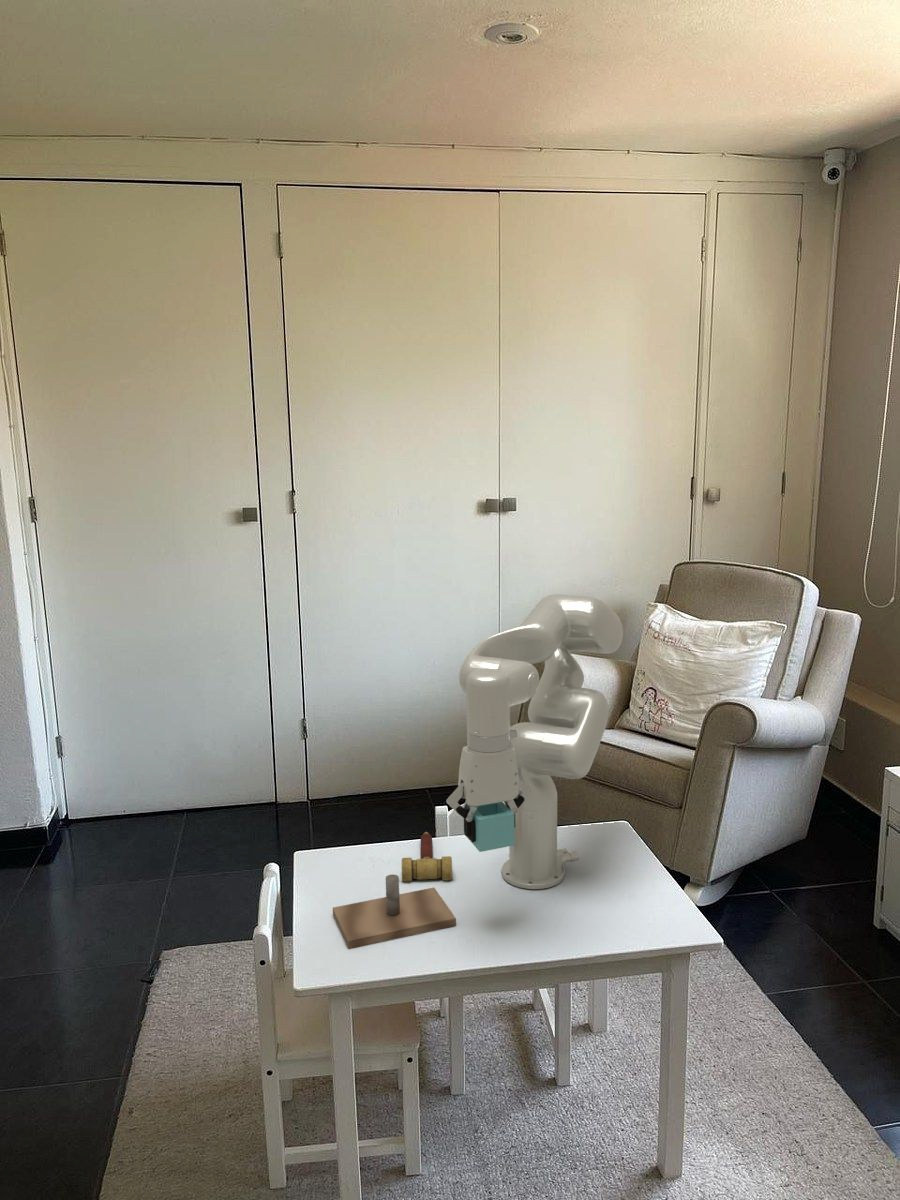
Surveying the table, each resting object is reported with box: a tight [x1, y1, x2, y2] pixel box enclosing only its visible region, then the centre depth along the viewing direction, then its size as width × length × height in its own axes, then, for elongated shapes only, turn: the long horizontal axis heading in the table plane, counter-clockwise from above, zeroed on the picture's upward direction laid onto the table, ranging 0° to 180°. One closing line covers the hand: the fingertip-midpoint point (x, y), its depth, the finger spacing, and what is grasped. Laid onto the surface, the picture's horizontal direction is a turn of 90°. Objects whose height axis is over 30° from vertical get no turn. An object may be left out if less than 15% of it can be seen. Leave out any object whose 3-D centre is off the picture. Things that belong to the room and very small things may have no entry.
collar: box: [466, 802, 515, 853], centre depth 165 cm, size 7×7×6 cm
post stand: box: [332, 874, 457, 949], centre depth 170 cm, size 20×12×8 cm, turn 110°
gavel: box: [401, 831, 453, 882], centre depth 194 cm, size 21×5×10 cm
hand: (489, 834), depth 165 cm, fingers closed on collar, 6 cm apart
